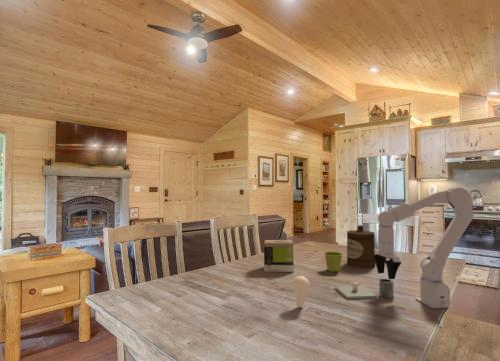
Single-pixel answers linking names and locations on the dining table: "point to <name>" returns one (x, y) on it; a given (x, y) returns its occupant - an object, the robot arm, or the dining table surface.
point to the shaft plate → (355, 292)
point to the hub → (386, 288)
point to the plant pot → (333, 261)
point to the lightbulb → (300, 289)
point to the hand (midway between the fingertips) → (386, 275)
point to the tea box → (278, 256)
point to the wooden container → (360, 248)
